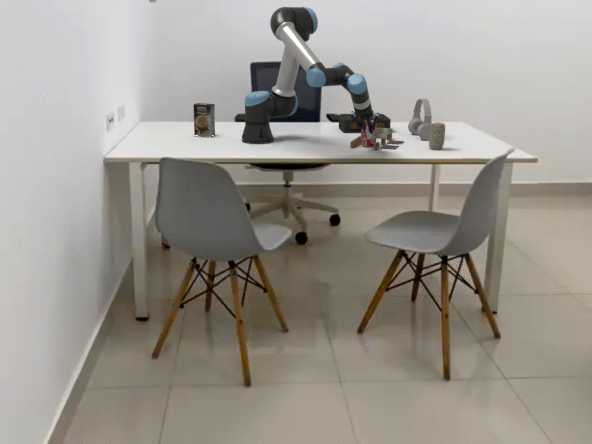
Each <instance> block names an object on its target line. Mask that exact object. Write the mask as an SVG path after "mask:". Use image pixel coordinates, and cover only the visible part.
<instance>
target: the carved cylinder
mask: <svg viewBox="0 0 592 444" xmlns="http://www.w3.org/2000/svg"><path fill="white" fill-rule="evenodd" d="M445 137H446V124H445V123H444V122H438V121H437V122H432V125H431V132H430V137H429V140H428V141H429V142H428V147H429V149H431V150H435V151H440V150H442V149H443V147H444V144H445Z"/></svg>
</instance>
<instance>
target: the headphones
mask: <svg viewBox="0 0 592 444" xmlns="http://www.w3.org/2000/svg"><path fill="white" fill-rule="evenodd" d="M422 105H423V111H424V115H423V120H422V118H421V113H422V110H421V109H422ZM431 109H432V108H431V104H430V102H429V100H428V99H427V98H418V99H417V100H416V102H415V105H414V109H413V111H412V112H413V115H412V118H411V120H410V121H409V122H408V124H407V128H408V131H409V132H410V133H411V134H412V135H415V136H418V137H419V138H420V139H421V140H423V141H429V137H430V132H431V125H432V123H433V122H432V116H433V115H432V110H431Z"/></svg>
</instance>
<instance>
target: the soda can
mask: <svg viewBox="0 0 592 444" xmlns="http://www.w3.org/2000/svg"><path fill="white" fill-rule="evenodd" d="M365 121H366V120H365ZM373 121H374V120H371V122H372V125H373ZM366 124H367V121H366ZM366 126H368V125H366ZM376 133H377V124H376V127H375V130H373V133H372V138H371V139H367V135H366V134H365V133H364V130H363V129H362V128H361V133H360V135H361V143H360V146H363V147H364V148H375V143H376V142H377V138H376Z"/></svg>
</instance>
